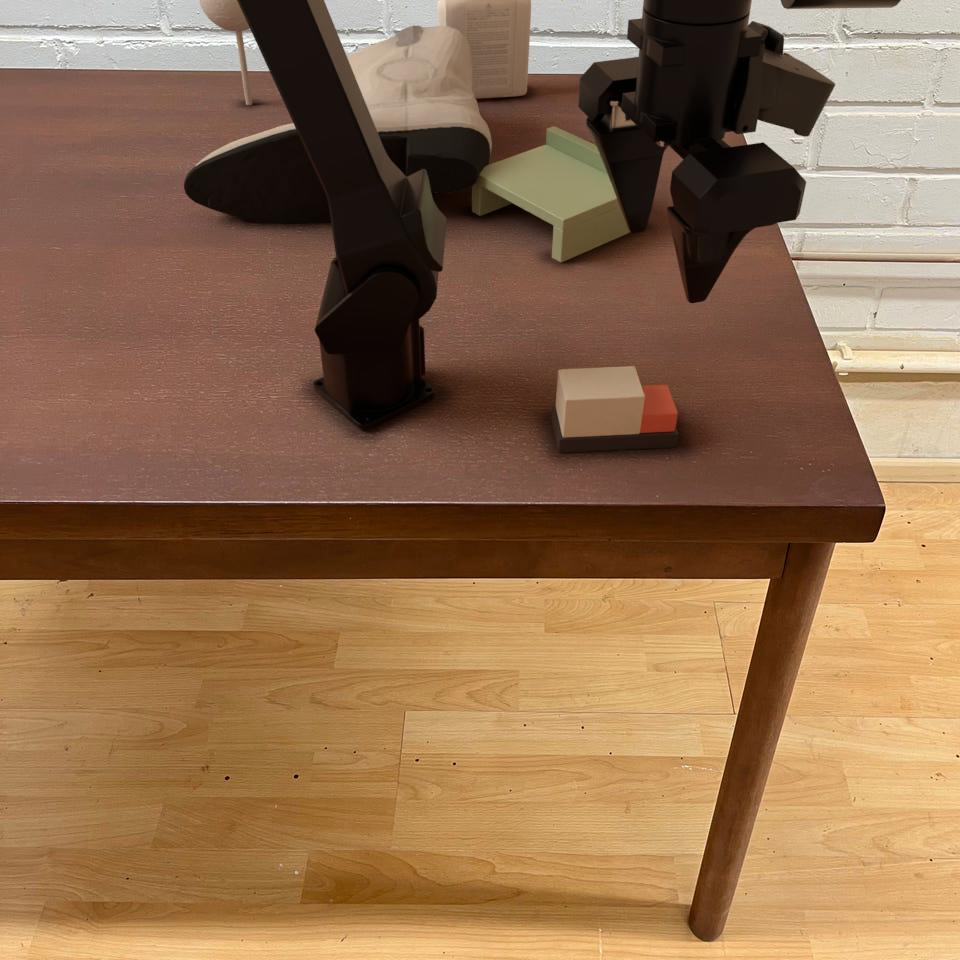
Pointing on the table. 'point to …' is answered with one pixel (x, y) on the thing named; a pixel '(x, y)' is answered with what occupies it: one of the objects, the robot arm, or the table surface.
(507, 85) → the white printed package
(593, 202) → the shoe shelf
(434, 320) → the table surface
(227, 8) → the lollipop
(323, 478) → the table surface
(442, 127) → the cowboy boot
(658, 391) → the block
